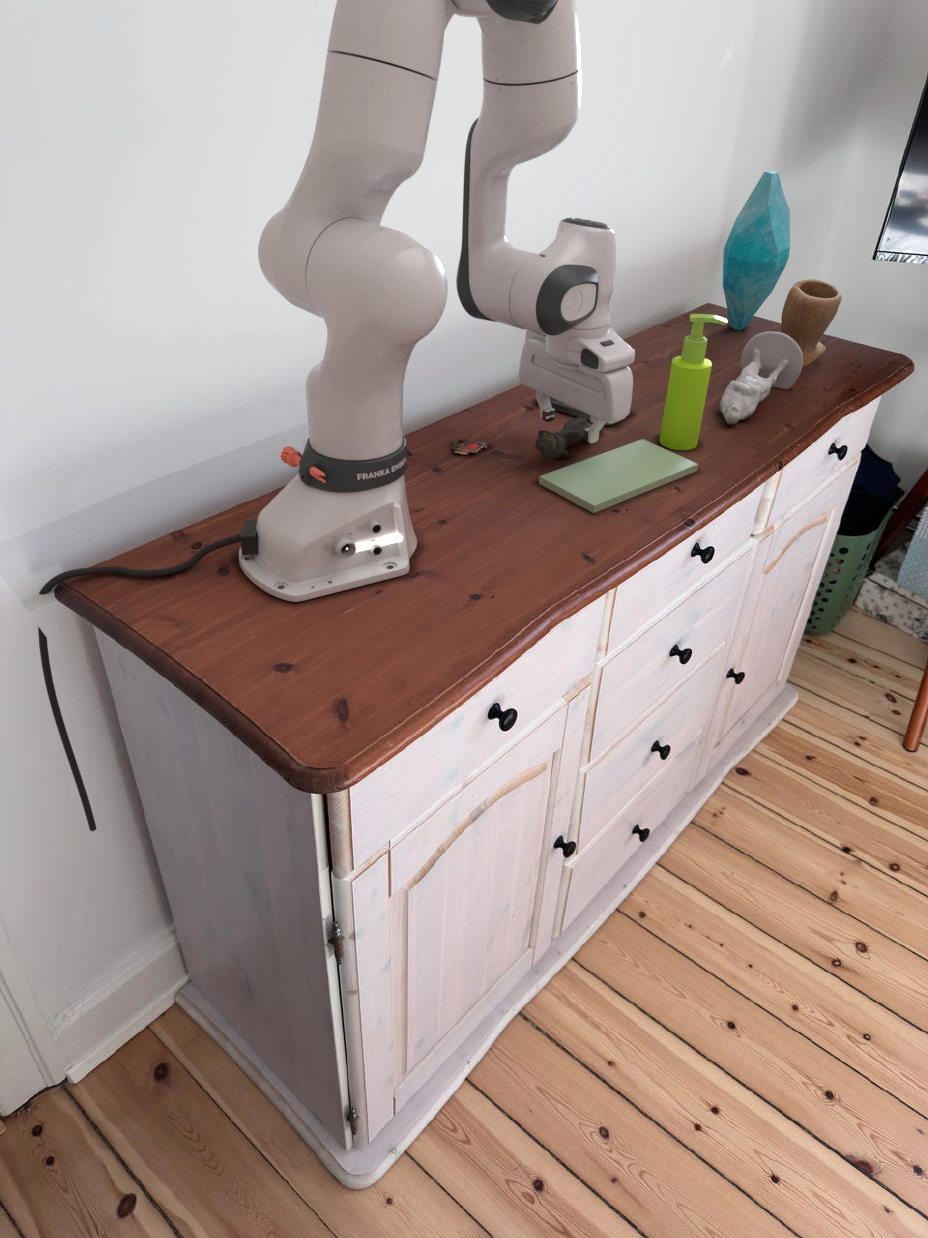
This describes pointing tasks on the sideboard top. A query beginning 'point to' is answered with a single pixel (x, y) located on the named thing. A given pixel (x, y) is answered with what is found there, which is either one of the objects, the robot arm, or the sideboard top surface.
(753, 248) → the crystal
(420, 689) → the sideboard top surface
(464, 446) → the matchbox
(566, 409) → the phone
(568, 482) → the board
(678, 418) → the soap dispenser
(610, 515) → the sideboard top surface
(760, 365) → the male figure
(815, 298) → the stone cup
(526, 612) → the sideboard top surface
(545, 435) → the statue
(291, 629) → the sideboard top surface
